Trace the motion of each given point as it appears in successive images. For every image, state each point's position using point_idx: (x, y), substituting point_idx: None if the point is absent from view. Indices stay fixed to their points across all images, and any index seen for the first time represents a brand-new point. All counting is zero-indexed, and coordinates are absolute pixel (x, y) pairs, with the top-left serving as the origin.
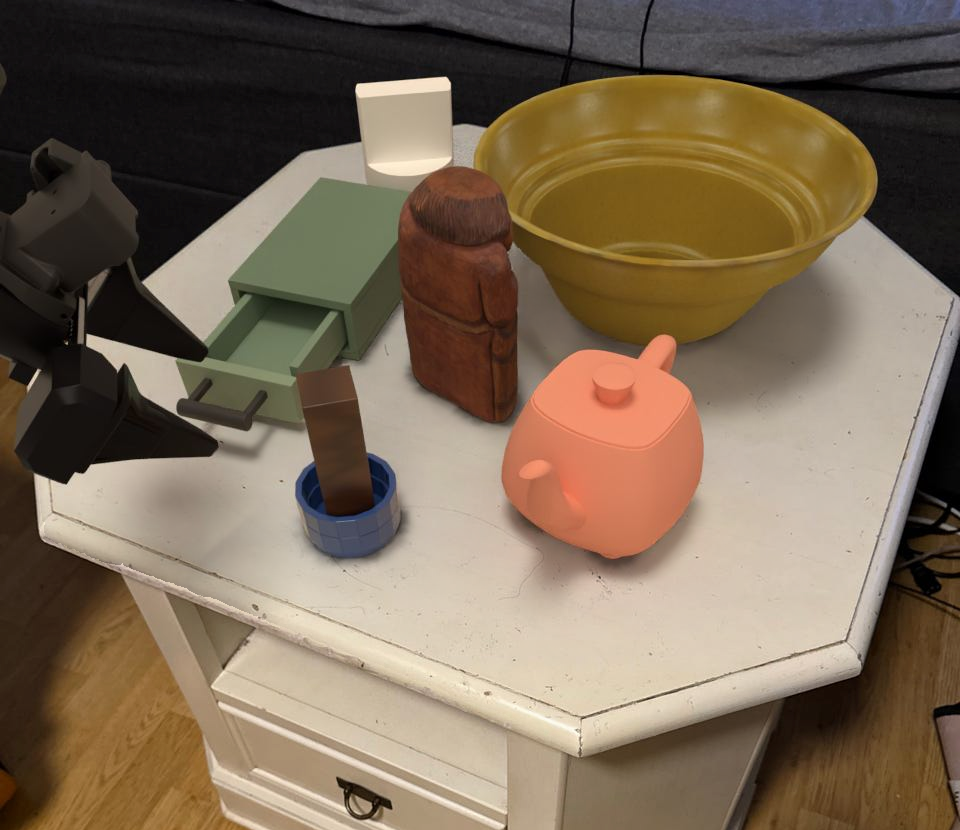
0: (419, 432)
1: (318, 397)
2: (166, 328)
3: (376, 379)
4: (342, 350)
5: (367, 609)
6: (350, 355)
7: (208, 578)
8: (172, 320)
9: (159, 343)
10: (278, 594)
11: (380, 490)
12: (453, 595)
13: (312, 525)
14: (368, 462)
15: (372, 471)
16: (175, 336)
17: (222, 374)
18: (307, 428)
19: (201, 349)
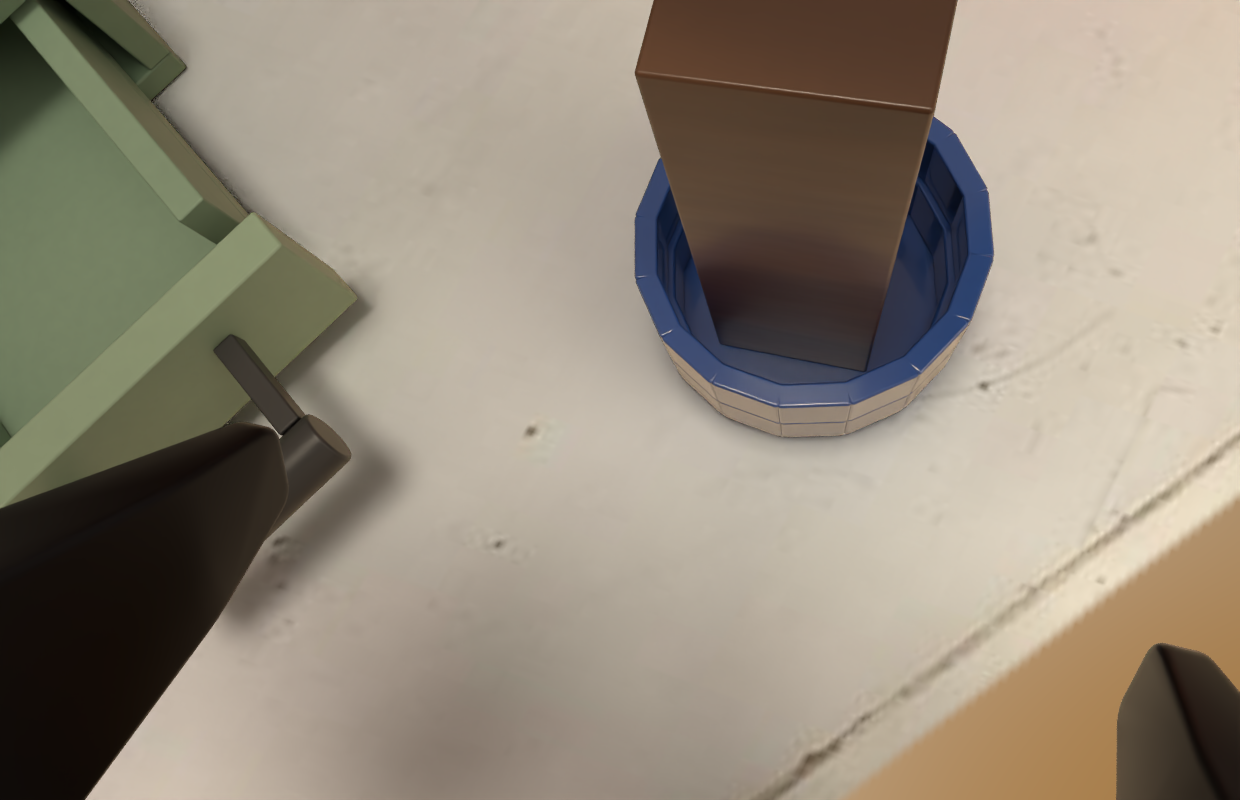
0: (547, 10)
1: (885, 14)
2: (60, 613)
3: (283, 48)
4: None
5: (1172, 377)
6: (160, 78)
7: (819, 784)
8: (33, 550)
9: (109, 690)
10: (989, 603)
11: None
12: (1225, 133)
13: (882, 403)
14: None
15: None
16: (129, 575)
17: (88, 439)
18: (914, 174)
19: (253, 459)
